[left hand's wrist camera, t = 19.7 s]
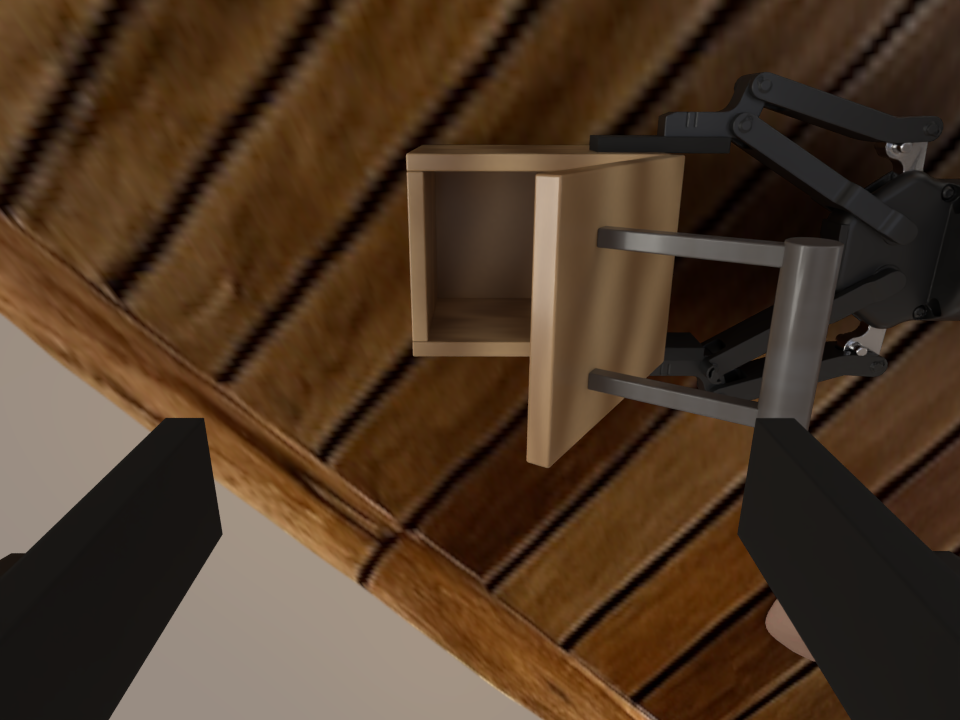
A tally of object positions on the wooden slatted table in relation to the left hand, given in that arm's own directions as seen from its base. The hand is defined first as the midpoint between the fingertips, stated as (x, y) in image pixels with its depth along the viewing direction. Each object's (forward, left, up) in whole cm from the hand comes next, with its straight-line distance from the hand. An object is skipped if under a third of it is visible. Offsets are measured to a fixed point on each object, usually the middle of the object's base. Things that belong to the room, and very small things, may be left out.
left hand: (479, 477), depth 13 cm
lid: (-3, +4, -15) cm, 16 cm away
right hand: (-4, +5, -24) cm, 24 cm away
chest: (-2, +2, -31) cm, 31 cm away
